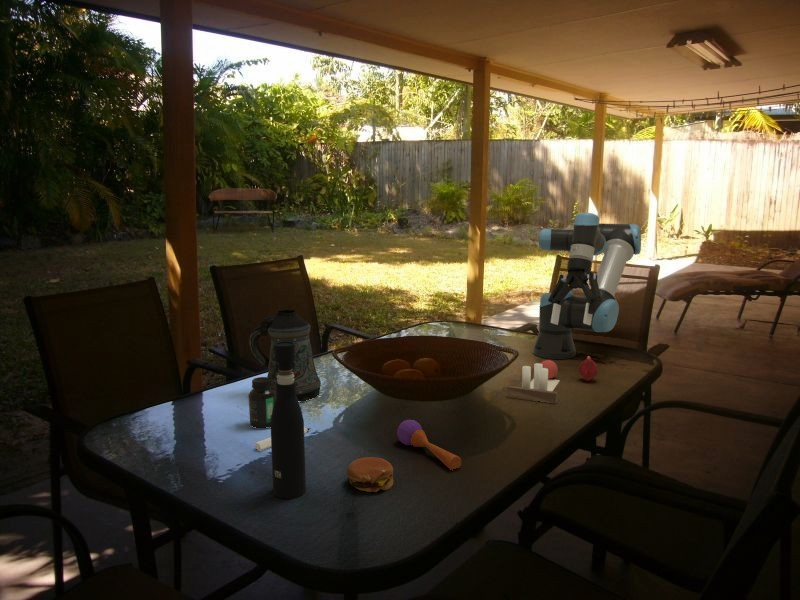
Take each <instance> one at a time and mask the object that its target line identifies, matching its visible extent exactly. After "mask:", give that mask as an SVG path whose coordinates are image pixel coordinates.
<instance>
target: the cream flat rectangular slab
mask: <svg viewBox="0 0 800 600" xmlns="http://www.w3.org/2000/svg"><path fill="white" fill-rule="evenodd" d="M558 384H560V379H554V378H551V379H548V388H547V391H553V392H554V390H555V388H557V386H558ZM533 388H534V377H533V378H532V379H531V380H530V389H533Z"/></svg>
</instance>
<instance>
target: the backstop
mask: <svg viewBox="0 0 800 600" xmlns="http://www.w3.org/2000/svg"><path fill="white" fill-rule="evenodd" d="M506 398H510V399H516V400H525V401H531V400H532V401H533V402H538V401H540V402H541V403H545V402H546V403H547V404H553V405H554V404H557V402H558V391H554V390H553V391H545V390H538V389H530V388H522V386H513V385H508V386H506Z"/></svg>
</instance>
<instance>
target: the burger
mask: <svg viewBox="0 0 800 600" xmlns="http://www.w3.org/2000/svg"><path fill="white" fill-rule="evenodd" d="M346 474H347V478H348V480H349V483H350V484H351V487H352V486H353V487H354V488H356V489H357V490H359V491H363V492H367V493H371V492H372V493H377V492H378V491H380V490H382V491H388V490H390V489H391V488H392V487H393V485H394V467H393V466H392V464H391V463H390V462H389V461H388V460H386V459H385V458H380V457H374V456H369V457H367V456H366V457H361V458H358V459H355V460H353V461H352V462H351V463H349V465H348V467H347V469H346Z"/></svg>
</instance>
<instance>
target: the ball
mask: <svg viewBox="0 0 800 600" xmlns="http://www.w3.org/2000/svg"><path fill="white" fill-rule="evenodd" d="M540 364H543V368H547V369H548V379H554V378H555V377H556V376H557V375H558V371H559V369H558V365H557V363H556V362H554V361H553V360H552V359H546V360H545V359H544V360H543V361H541V362H540Z"/></svg>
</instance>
